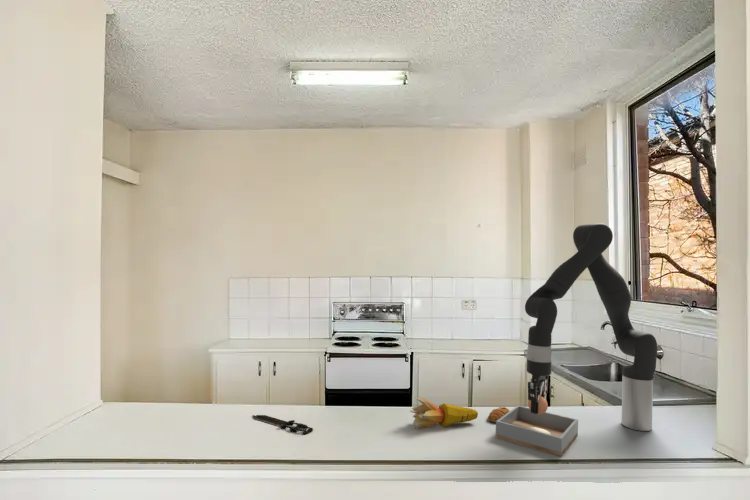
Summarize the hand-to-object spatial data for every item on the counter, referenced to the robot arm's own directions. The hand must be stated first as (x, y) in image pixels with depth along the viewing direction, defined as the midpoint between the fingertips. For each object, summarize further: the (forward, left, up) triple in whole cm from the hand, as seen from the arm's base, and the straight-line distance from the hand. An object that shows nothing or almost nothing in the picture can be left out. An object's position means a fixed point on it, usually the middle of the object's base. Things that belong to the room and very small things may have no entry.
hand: (537, 410), depth 141 cm
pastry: (-6, -15, -9) cm, 19 cm away
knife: (+49, -69, -9) cm, 85 cm away
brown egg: (0, 0, +2) cm, 2 cm away
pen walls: (0, 0, -7) cm, 7 cm away
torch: (+13, -27, -9) cm, 31 cm away
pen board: (0, 0, -8) cm, 8 cm away
